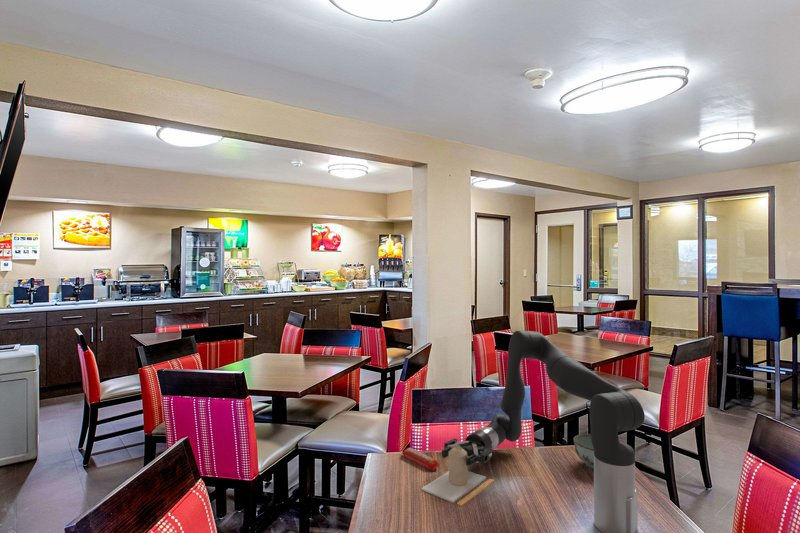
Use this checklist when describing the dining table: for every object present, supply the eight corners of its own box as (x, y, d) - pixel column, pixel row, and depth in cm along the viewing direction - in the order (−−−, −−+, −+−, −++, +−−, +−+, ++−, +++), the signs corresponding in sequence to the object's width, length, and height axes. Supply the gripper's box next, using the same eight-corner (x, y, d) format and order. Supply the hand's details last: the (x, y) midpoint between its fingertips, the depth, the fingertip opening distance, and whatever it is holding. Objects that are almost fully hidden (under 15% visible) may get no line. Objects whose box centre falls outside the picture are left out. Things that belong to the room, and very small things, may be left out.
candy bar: (400, 456, 153) (400, 447, 153) (408, 453, 155) (408, 445, 155) (433, 473, 141) (432, 463, 141) (441, 469, 143) (441, 460, 143)
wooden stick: (494, 481, 135) (494, 480, 135) (461, 506, 121) (461, 504, 121) (489, 479, 136) (489, 478, 136) (457, 504, 122) (457, 502, 122)
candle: (466, 486, 130) (466, 452, 130) (447, 485, 132) (447, 451, 131) (467, 477, 136) (467, 445, 136) (449, 476, 137) (449, 443, 137)
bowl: (565, 465, 145) (565, 440, 145) (585, 453, 154) (584, 430, 154) (607, 480, 135) (607, 454, 135) (626, 466, 144) (626, 442, 144)
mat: (486, 478, 136) (486, 476, 136) (453, 502, 123) (453, 501, 123) (455, 468, 144) (455, 466, 144) (421, 489, 130) (421, 488, 130)
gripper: (463, 425, 149) (434, 439, 137) (502, 435, 140) (475, 452, 128) (463, 447, 149) (435, 464, 137) (502, 459, 140) (475, 478, 128)
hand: (454, 458), depth 132 cm, fingers open, 8 cm apart
